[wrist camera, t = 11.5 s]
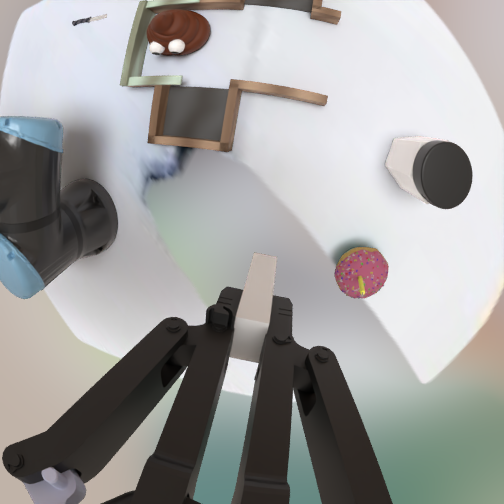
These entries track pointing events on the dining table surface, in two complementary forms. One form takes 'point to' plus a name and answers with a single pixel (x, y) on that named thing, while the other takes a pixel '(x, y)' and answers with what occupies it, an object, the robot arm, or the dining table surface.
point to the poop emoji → (177, 32)
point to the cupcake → (361, 272)
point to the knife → (89, 19)
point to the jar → (431, 170)
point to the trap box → (199, 98)
